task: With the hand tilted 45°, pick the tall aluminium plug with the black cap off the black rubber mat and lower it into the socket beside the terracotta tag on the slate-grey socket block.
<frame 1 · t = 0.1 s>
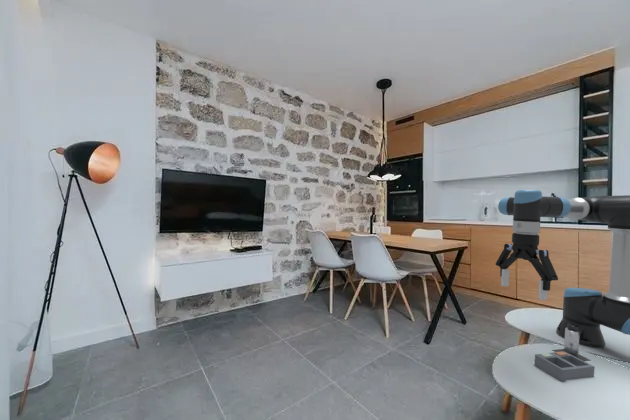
hand: (522, 292, 91), 28 cm above the table, tool pointing down, fingers open, 13 cm apart
plug mat: (570, 356, 100), on the table
plug: (570, 355, 100), resting on plug mat
socket block: (563, 371, 91), on the table
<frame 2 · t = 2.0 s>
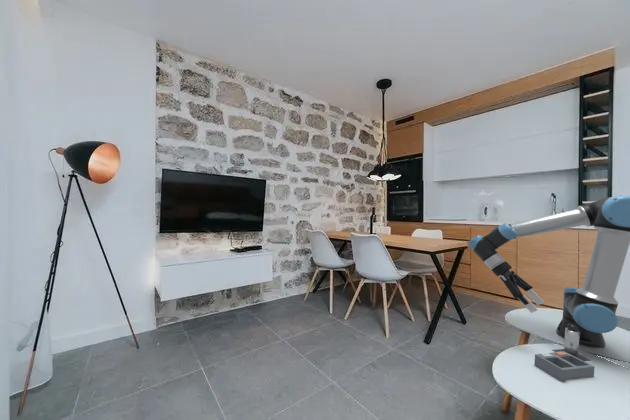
hand: (538, 307, 108), 16 cm above the table, tool tilted 45°, fingers open, 13 cm apart
nothing on the table moved.
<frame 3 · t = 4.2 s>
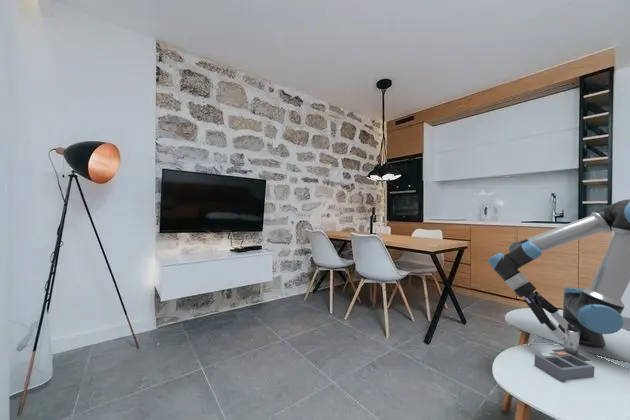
hand: (565, 333, 101), 9 cm above the table, tool tilted 45°, fingers open, 13 cm apart
nothing on the table moved.
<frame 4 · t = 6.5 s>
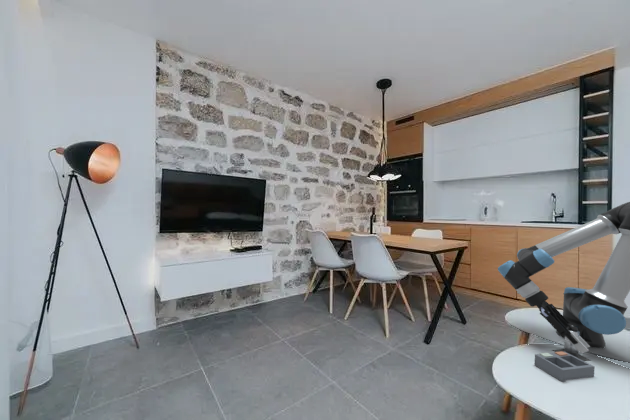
hand: (585, 349, 97), 4 cm above the table, tool tilted 45°, fingers closed on plug, 4 cm apart
plug: (570, 355, 100), point 1 cm above the table, touching gripper, plug mat
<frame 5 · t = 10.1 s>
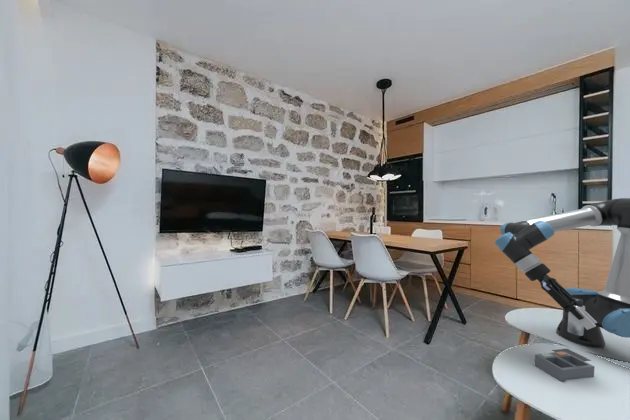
hand: (592, 325, 87), 18 cm above the table, tool tilted 45°, fingers closed on plug, 4 cm apart
plug: (575, 332, 90), point 14 cm above the table, touching gripper
when the fingers open (6 cm above the table, at t = 13.6 s): plug drops 2 cm, resting in socket block.
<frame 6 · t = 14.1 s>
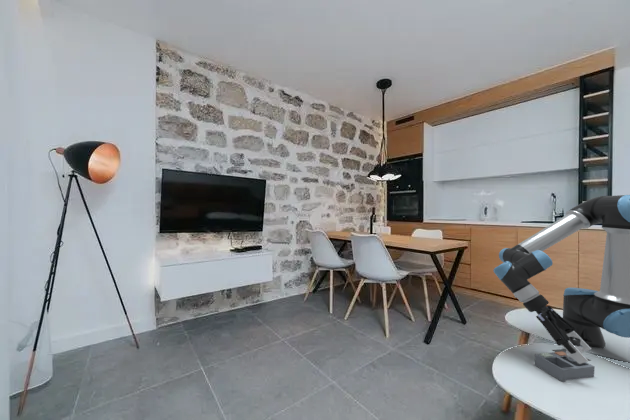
hand: (585, 356, 88), 7 cm above the table, tool tilted 45°, fingers open, 11 cm apart
plug: (572, 371, 91), resting in socket block
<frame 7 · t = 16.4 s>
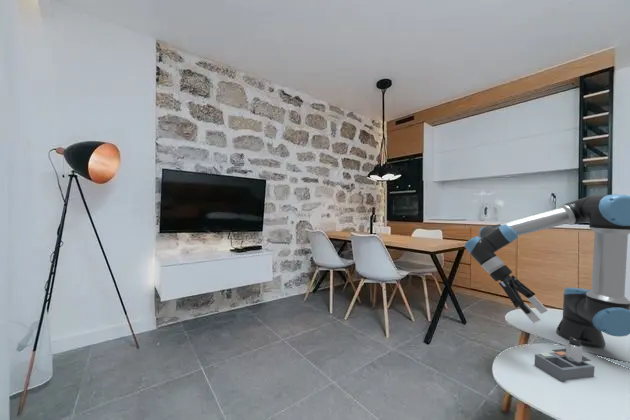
hand: (541, 316, 98), 17 cm above the table, tool tilted 45°, fingers open, 13 cm apart
nothing on the table moved.
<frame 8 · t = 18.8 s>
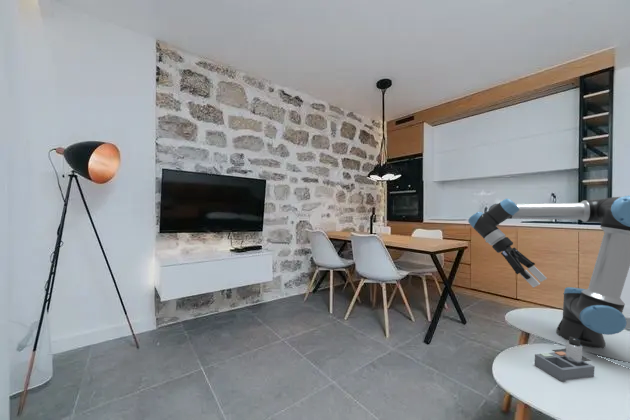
hand: (540, 283, 104), 28 cm above the table, tool tilted 45°, fingers open, 13 cm apart
nothing on the table moved.
at the end: plug 0.1 cm from the target spot on the socket block, point 0.0 cm above the socket block's base; plug tilted 0°; the gripper is holding nothing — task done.
